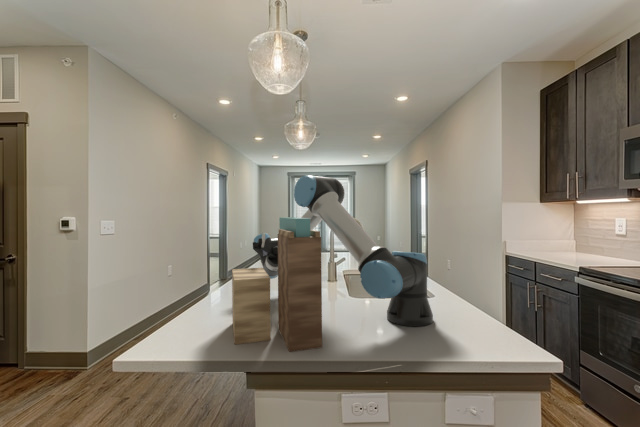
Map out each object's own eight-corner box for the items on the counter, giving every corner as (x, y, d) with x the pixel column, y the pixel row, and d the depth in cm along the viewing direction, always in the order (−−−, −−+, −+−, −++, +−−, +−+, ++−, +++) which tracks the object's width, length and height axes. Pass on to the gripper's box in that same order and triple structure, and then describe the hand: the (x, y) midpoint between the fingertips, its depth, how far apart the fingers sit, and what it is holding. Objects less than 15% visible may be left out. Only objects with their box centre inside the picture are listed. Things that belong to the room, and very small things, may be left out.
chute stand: (278, 329, 101) (277, 229, 101) (306, 326, 104) (305, 228, 104) (289, 352, 85) (288, 232, 85) (322, 347, 88) (321, 231, 88)
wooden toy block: (232, 323, 107) (232, 269, 107) (262, 320, 110) (262, 267, 110) (234, 344, 90) (234, 280, 90) (270, 340, 93) (270, 277, 93)
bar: (279, 231, 112) (279, 217, 112) (290, 231, 114) (290, 217, 114) (296, 237, 88) (295, 218, 88) (310, 236, 89) (310, 218, 89)
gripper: (306, 265, 134) (318, 243, 117) (244, 269, 127) (247, 246, 109) (303, 248, 138) (315, 225, 120) (243, 251, 131) (246, 226, 113)
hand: (283, 235), depth 115 cm, fingers open, 13 cm apart
